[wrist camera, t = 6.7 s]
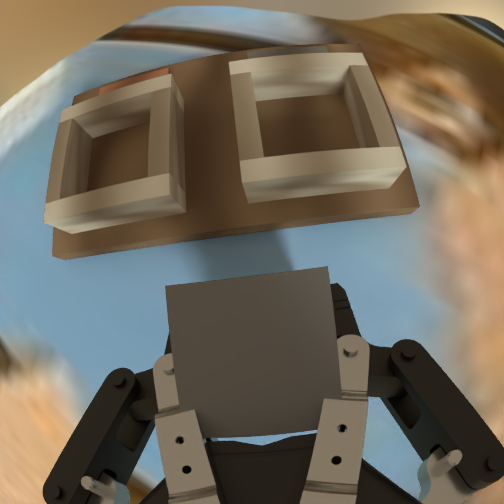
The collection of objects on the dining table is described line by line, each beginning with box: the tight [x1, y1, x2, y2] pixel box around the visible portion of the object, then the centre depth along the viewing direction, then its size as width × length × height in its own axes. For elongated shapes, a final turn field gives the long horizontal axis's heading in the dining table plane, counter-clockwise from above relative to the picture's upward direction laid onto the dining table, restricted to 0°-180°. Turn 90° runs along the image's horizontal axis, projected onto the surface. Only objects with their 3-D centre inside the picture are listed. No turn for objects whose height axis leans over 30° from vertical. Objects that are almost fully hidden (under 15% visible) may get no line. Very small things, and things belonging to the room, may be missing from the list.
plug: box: [165, 266, 342, 438], centre depth 13 cm, size 4×4×10 cm
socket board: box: [44, 44, 420, 260], centre depth 18 cm, size 24×14×4 cm, turn 97°
